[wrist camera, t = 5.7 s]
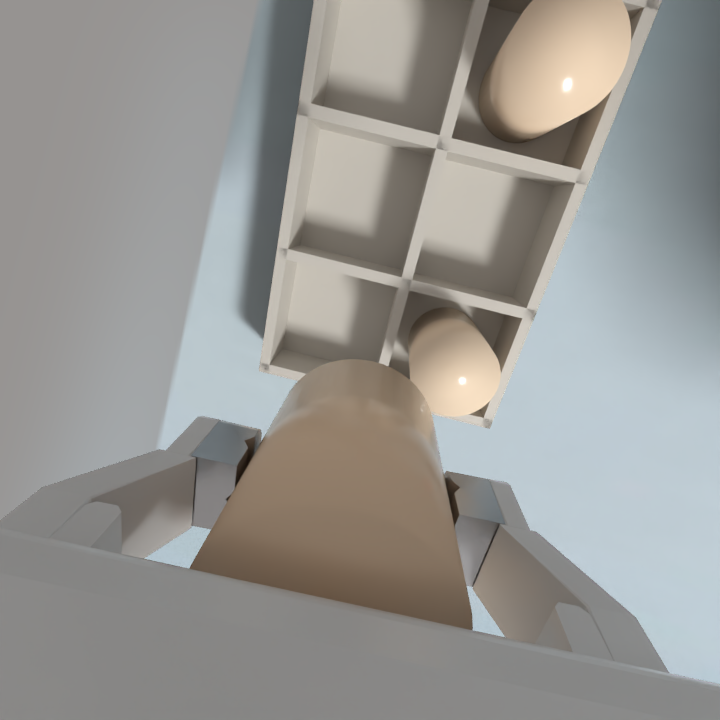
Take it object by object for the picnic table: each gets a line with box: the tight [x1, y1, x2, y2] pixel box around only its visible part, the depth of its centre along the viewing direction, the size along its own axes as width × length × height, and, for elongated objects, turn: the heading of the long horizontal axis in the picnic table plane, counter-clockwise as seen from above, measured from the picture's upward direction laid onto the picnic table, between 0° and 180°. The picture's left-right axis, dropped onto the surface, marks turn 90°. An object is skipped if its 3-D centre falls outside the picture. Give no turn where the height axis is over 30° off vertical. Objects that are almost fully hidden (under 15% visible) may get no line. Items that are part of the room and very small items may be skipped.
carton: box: [259, 0, 662, 429], centre depth 23 cm, size 15×22×4 cm
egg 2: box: [408, 307, 501, 417], centre depth 24 cm, size 5×5×6 cm
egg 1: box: [190, 359, 473, 630], centre depth 9 cm, size 5×5×6 cm
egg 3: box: [479, 0, 631, 143], centre depth 18 cm, size 5×5×6 cm
